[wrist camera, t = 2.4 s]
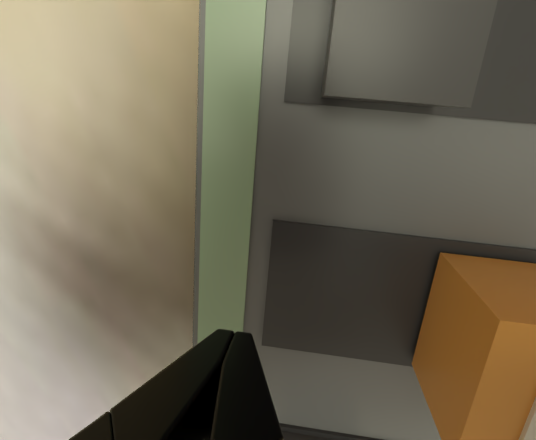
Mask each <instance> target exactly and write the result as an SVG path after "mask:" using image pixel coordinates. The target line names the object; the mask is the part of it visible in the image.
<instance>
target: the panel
mask: <svg viewBox="0 0 536 440" xmlns="http://www.w3.org/2000/svg"><path fill="white" fill-rule="evenodd" d="M440 252H441V253H450V254H458V255H467V256H475V257H484V258H493V259H501V260H510V261H518V262H527V263H535V264H536V0H200V4H199V55H198V106H197V157H196V208H195V258H194V309H193V347H194V346H195V345H197V344H198V343H199V342H201V341H202V340H203V339H205V338H206V337H207V336H209V335H210V334H211V333H213V332H214V331H215V330H217V329H226V330H232V331H234V333H235V332H237V331H240V332H247V333H251V334H252V336H253V339H254V342H255V345H256V349H257V352H258V355H259V358H260V362H261V365H262V368H263V371H264V375H265V378H266V381H267V384H268V388H269V391H270V394H271V397H272V401H273V404H274V407H275V410H276V414H277V417H278V420H279V423H280V427H281V430H282V433H283V437H284V440H441V437H440V435H439V432H438V430H437V427H436V425H435V422H434V420H433V417H432V414H431V412H430V409H429V407H428V404H427V402H426V399H425V397H424V394H423V392H422V389H421V386H420V384H419V381H418V379H417V376H416V374H415V371H414V369H413V366H412V361H413V357H414V353H415V349H416V345H417V341H418V337H419V333H420V329H421V325H422V321H423V318H424V314H425V310H426V306H427V302H428V298H429V294H430V290H431V286H432V282H433V278H434V274H435V271H436V267H437V263H438V259H439V255H440Z"/></svg>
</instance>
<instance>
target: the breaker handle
mask: <svg viewBox="0 0 536 440" xmlns="http://www.w3.org/2000/svg"><path fill="white" fill-rule="evenodd" d="M412 366H413V369H414V371H415V374H416V376H417V379H418V381H419V384H420V386H421V389H422V392H423V394H424V397H425V399H426V402H427V404H428V407H429V409H430V412H431V414H432V417H433V420H434V422H435V425H436V427H437V430H438V432H439V435H440V437H441V440H536V264H535V263H527V262H518V261H510V260H501V259H493V258H484V257H475V256H467V255H458V254H450V253H441V252H440V255H439V259H438V263H437V267H436V271H435V274H434V278H433V282H432V286H431V290H430V294H429V298H428V302H427V306H426V310H425V314H424V318H423V321H422V325H421V329H420V333H419V337H418V341H417V345H416V349H415V353H414V357H413V361H412Z"/></svg>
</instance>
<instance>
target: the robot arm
mask: <svg viewBox="0 0 536 440" xmlns="http://www.w3.org/2000/svg"><path fill="white" fill-rule="evenodd" d="M69 440H284V437H283V433H282V430H281V427H280V423H279V420H278V417H277V414H276V410H275V407H274V404H273V401H272V397H271V394H270V391H269V388H268V384H267V381H266V378H265V375H264V371H263V368H262V365H261V362H260V358H259V355H258V352H257V349H256V345H255V342H254V339H253V336H252V334H251V333H247V332H240V331H237V332H235V333H234V331H232V330H226V329H217V330H215V331H214V332H213V333H211V334H210V335H209V336H207V337H206V338H205V339H203V340H202V341H201V342H199V343H198V344H197V345H195V346H194V347H193V348H191V349H190V350H189V351H187V352H186V353H185V354H183V355H182V356H181V357H179V358H178V359H177V360H175V361H174V362H173V363H171V364H170V365H169V366H167V367H166V368H165V369H163V370H162V371H161V372H159V373H158V374H157V375H155V376H154V377H153V378H151V379H150V380H149V381H147V382H146V383H145V384H143V385H142V386H141V387H139V388H138V389H137V390H135V391H134V392H133V393H131V394H130V395H129V396H127V397H126V398H125V399H123V400H122V401H121V402H119V403H118V404H117V405H115V406H114V407H113V408H111V410H110V412H106V413H105V414H103V415H102V416H101V417H99V418H98V419H97V420H95V421H94V422H93V423H91V424H90V425H88V426H87V427H86V428H84V429H83V430H81V431H80V432H79V433H77V434H76V435H74V436H73V437H72V438H70V439H69Z"/></svg>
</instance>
